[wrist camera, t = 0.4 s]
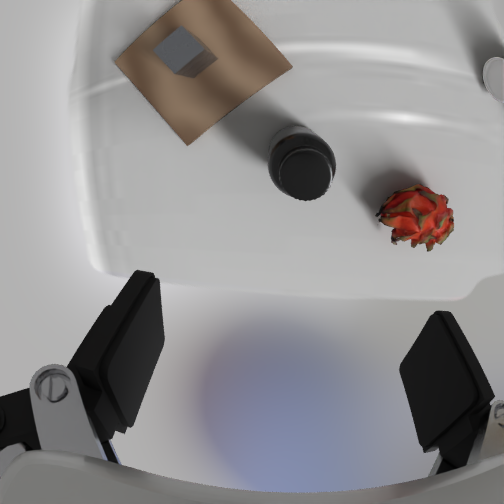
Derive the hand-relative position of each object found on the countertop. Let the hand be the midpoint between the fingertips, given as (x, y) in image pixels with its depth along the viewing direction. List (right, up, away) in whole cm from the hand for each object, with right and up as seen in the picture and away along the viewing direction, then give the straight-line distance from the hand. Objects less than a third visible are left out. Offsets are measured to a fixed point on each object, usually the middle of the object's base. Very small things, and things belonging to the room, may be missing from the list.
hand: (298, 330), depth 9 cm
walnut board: (-8, +26, +21) cm, 34 cm away
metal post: (-8, +25, +19) cm, 33 cm away
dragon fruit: (+20, +9, +28) cm, 36 cm away
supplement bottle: (+4, +15, +26) cm, 30 cm away
